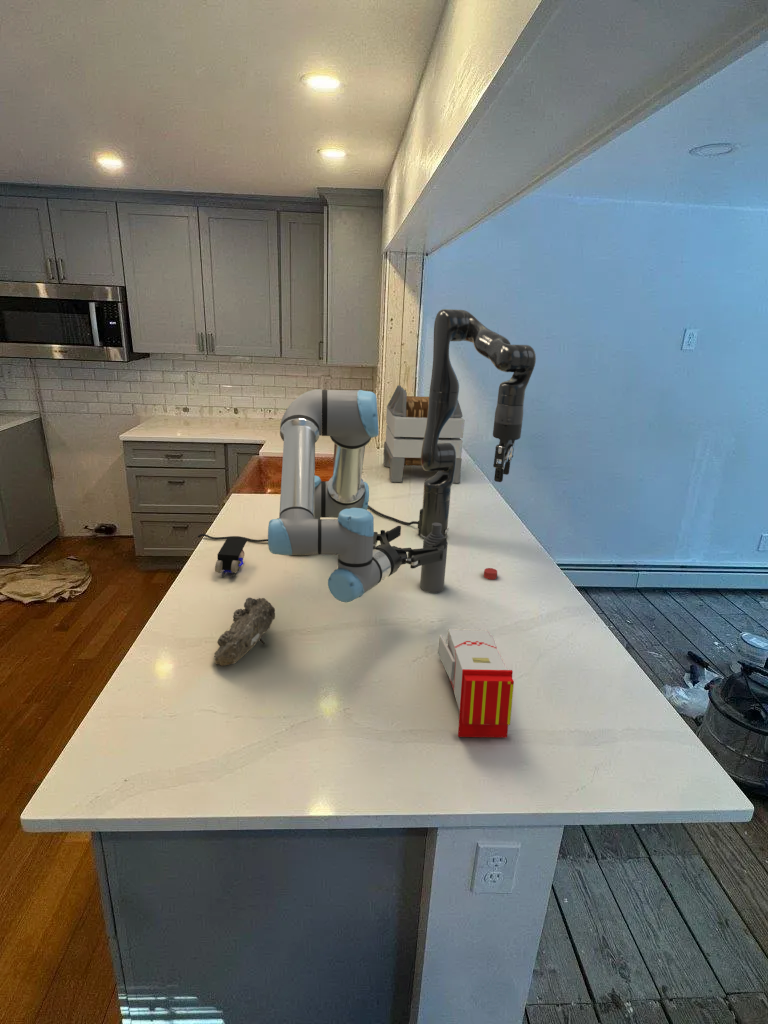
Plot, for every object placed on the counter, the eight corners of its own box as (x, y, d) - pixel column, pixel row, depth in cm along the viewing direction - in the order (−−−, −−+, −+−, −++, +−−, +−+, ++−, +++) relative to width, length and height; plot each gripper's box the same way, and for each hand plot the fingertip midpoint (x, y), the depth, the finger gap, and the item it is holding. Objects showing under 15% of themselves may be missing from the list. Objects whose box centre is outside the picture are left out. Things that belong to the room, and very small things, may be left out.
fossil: (230, 601, 141) (273, 572, 136) (255, 627, 144) (299, 600, 139) (195, 660, 122) (245, 629, 117) (226, 689, 125) (276, 660, 120)
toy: (488, 613, 130) (523, 677, 101) (484, 667, 133) (517, 744, 104) (435, 612, 130) (455, 676, 101) (432, 666, 133) (451, 743, 103)
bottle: (425, 579, 167) (430, 518, 160) (447, 585, 164) (452, 522, 158) (416, 589, 161) (420, 525, 155) (438, 595, 158) (444, 530, 152)
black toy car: (238, 584, 162) (249, 557, 175) (236, 562, 158) (247, 536, 172) (215, 584, 161) (227, 556, 175) (212, 561, 158) (225, 535, 171)
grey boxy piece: (382, 463, 289) (386, 382, 275) (445, 464, 293) (451, 384, 279) (390, 482, 257) (394, 392, 243) (460, 483, 261) (468, 394, 247)
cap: (481, 574, 172) (482, 568, 171) (494, 573, 173) (494, 567, 172) (485, 580, 168) (486, 573, 168) (498, 579, 169) (499, 573, 168)
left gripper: (335, 564, 139) (381, 538, 156) (424, 593, 127) (463, 561, 144) (335, 536, 137) (382, 512, 154) (427, 563, 125) (466, 534, 142)
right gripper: (500, 415, 162) (494, 470, 168) (488, 423, 150) (482, 482, 155) (526, 418, 159) (519, 473, 165) (517, 426, 147) (509, 486, 152)
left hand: (421, 536), depth 149 cm, fingers open, 13 cm apart
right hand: (501, 477), depth 160 cm, fingers open, 8 cm apart
